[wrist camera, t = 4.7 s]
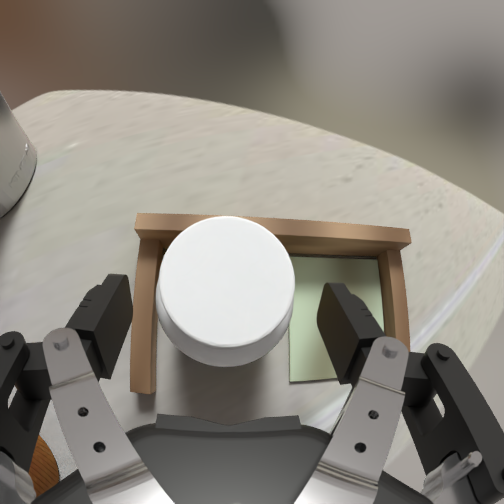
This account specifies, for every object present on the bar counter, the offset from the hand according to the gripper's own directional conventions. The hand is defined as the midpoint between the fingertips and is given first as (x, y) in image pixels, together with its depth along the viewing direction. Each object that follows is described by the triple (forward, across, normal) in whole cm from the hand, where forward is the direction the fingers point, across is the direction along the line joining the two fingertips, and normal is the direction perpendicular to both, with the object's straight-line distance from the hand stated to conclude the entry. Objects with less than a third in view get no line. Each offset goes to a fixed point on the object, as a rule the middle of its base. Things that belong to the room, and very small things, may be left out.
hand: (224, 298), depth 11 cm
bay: (+4, -4, +4) cm, 7 cm away
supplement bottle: (+4, 0, +5) cm, 6 cm away
